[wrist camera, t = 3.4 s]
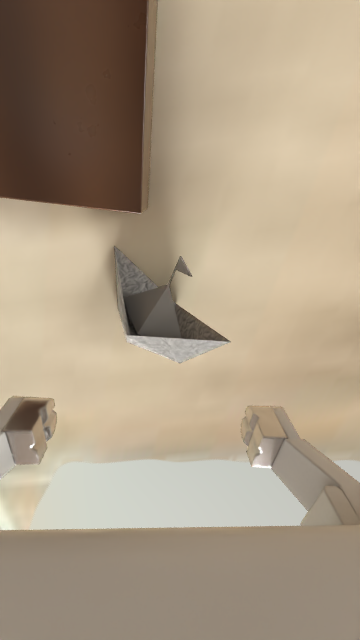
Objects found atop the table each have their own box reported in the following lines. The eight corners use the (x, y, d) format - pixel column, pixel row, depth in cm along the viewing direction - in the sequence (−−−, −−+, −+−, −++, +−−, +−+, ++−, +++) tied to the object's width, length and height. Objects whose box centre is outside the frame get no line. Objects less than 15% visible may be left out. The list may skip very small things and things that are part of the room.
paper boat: (70, 315, 21) (80, 214, 15) (124, 291, 26) (147, 207, 20) (173, 412, 18) (234, 335, 13) (212, 366, 23) (270, 294, 17)
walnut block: (159, -35, 13) (154, -149, 9) (147, 208, 19) (141, 214, 14) (-84, -86, 12) (-230, -246, 8) (-20, 188, 18) (-83, 187, 13)
